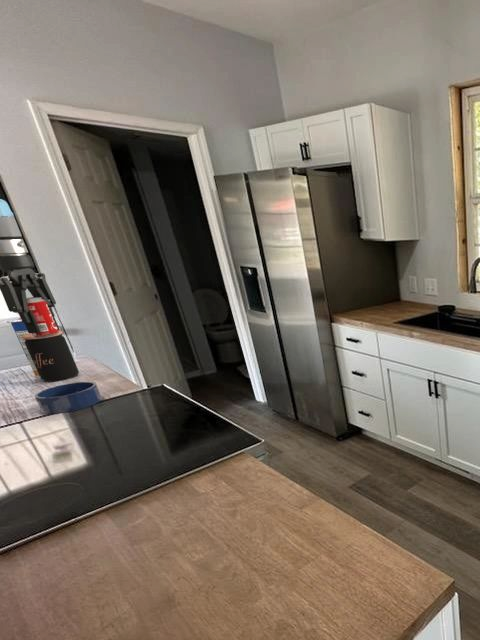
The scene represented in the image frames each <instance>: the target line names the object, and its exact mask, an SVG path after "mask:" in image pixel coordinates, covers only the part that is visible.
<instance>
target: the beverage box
mask: <svg viewBox="0 0 480 640" xmlns="http://www.w3.org/2000/svg"><path fill="white" fill-rule="evenodd" d="M10 324H11V326H12V329H13V331H14V333H15V335H16V338H17V340H18V342H19V344H20V346H21V348H22V350H23V353H24V354H25V356H26V359H27V361H28V363H29V365H30V368H31V370H32V372H33V374H34V376H35V377H40V376H39V374H38V371H37V369H36V367H35V365H34V363H33V360H32V358H31V356H30V354H29V352H28V350H27V347H26V345H25V340H24V339H23V338H22V336H23V335H25V334H29V332H28V330H27V328H26V326H25V324H24V323H23V322H22V320H21V318H20V317H19V318H18V319H15V320H12V321H10Z"/></svg>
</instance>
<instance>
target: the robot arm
mask: <svg viewBox="0 0 480 640" xmlns="http://www.w3.org/2000/svg"><path fill="white" fill-rule="evenodd" d="M18 225H19V224H18V222H17V221H16V219H15V215H14V213H13V212H12V210H11V208H10V205H9V204H8V202H7V201H6V200H4V199H2V198H0V270H1V272H2V276H1V277H0V292H1V295H2V297H3V299H4V302H5V304H6V307H7V309H8V311H9V312H11V313H12V312H13V313H14V314H18V315H19V319H20V318H21V320H22V322H23V323H24V324H25V326H26V328H27V330H28V332H29V333H40V332H41V331H40V329H39V327H38V324H37V322H36V320H35V318H34V315H33V313H32V312H28V305H27V298H28V297H27V292H26V291H27V290H28V292H29V293H30V295H31V296H32V297H41V299H43V300H45V301H46V303H47V305H48V308H49V310H50V312H51V315H52V317H53V319H54V322H55V324H56V327H57V329H59V325H58V322H57V320H56V318H55V317H56V315H55V313H54V311H53V308H55V307H56V304H57V301H56V299H55V297H54V295H53V292H52V291H51V289H50V286H49V284H48V282H47V278H46V274H45V273H43V272H42V273H39V272H38V273H37V272H35V270H33V268H34V267H35V263H34V261H33V259H32V257H31V255H29V254H28V253H29V250H28V248H27V245H26V244H25V243H26V242H25V241H24V237H23V236H22V233H21V230H20V228H19V226H18ZM21 307H22V308H21Z"/></svg>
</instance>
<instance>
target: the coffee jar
mask: <svg viewBox="0 0 480 640" xmlns="http://www.w3.org/2000/svg"><path fill="white" fill-rule="evenodd" d="M58 331H59V332H58V334H57V335H55V336H50V337H42V338H36V337H34V336H33V335H32V333H29V334H25V335H23V336H22V338H23V339H24V340H25V345H26V347H27V350H28V352H29V354H30V356H31V358H32V360H33V363H34V365H35V367H36V369H37V371H38V374H39V376H38V377H39V379H40V380H41V381H43V382H46V383H51V382H52V383H53V382H61V381H67V380H70V379H73V378H75V377H77V376H78V375H79V373H80V370H79V368H78V366H77V363H76V361H75V359H74V357H73V353H72V352H71V350H70V348H69V345H68V342H67V340H66V338H65V336H63V330H59V329H58Z"/></svg>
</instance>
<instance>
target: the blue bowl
mask: <svg viewBox="0 0 480 640" xmlns="http://www.w3.org/2000/svg"><path fill="white" fill-rule="evenodd" d="M34 399H35V401H36V403H37V405H38V407H39V409H40V411H41V413H42V414H45V415H52V414H53V415H55V414H56V415H57V414H63V413H69V412H74V411H78V410H82V409H86V408H88V407H92V406H95V405H97V404H98V403H100V402H101V401H102V400H103V397H102V394H101V391H100V389H99V387H98V384H97V383H96V382H94V381H78V382H71V383H65V384H61V385H56V386H53V387H49V388H45V389H43V390H41V391H39V392H37V393H35V394H34Z"/></svg>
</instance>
